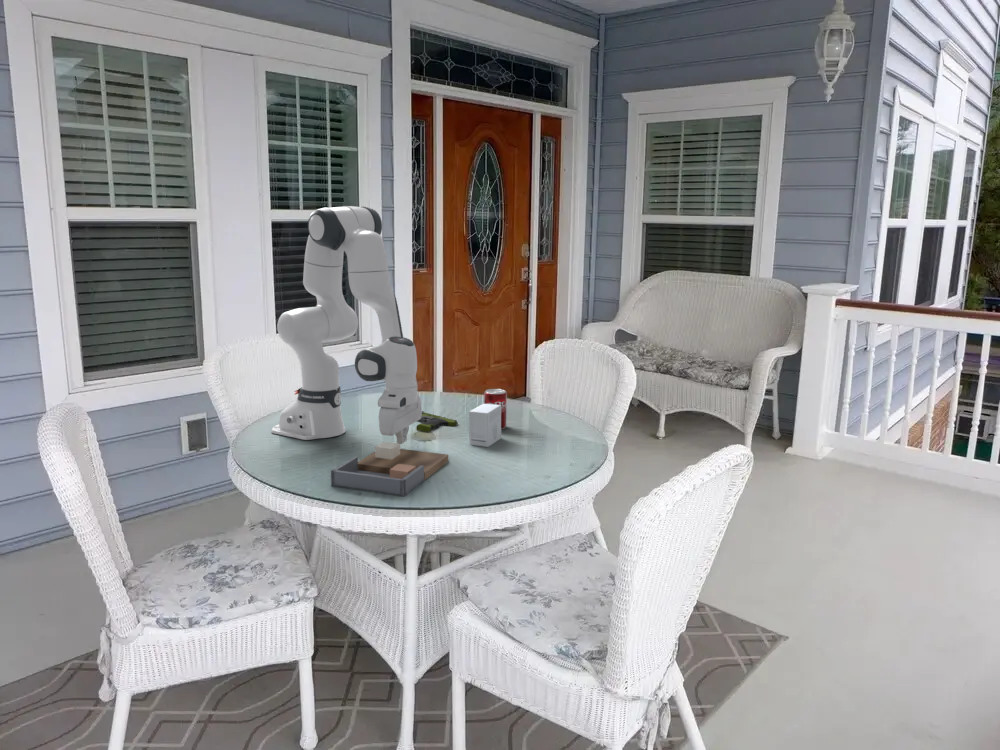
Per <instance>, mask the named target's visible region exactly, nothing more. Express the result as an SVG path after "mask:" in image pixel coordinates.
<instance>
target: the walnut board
mask: <svg viewBox="0 0 1000 750" xmlns="http://www.w3.org/2000/svg"><path fill="white" fill-rule="evenodd" d="M447 463H449V454H446V453H439V452H438V453H437V452H431V451H430V452H429V451H423V450H422V451H421V450H415V449H413V450H412V449H405V448H400V455H398V456H397V457H395V458H394V459H384V458H376V457H375V451H373V452H371V454H369V455H367V456H365V457H363V458H362V459H360V460H358V470H363V471H370V472H377V473H385V474H390V469H391V468H393V467H394V466H396V465H397V464H404V465H412V466H416V468H418V467H419V466H420V465H421V466H424V481H426V480H427V479H428V478H430V477H431V476H432V475H434V473H436V472H437V471H438V470H440V469H441V468H442V467H443V466H445V465H446V464H447Z"/></svg>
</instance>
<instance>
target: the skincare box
mask: <svg viewBox="0 0 1000 750" xmlns="http://www.w3.org/2000/svg"><path fill="white" fill-rule="evenodd" d="M468 415H469V416H468V419H469V426H468V427H469V428H468V429H469V430H468V431H469V432H468V433H469V436H468V437H469V445H470V446H478V447H484V448H485V447H486V448H489V447H490V446H492V445H493V444H495V443H496V442H498V441H499V440H500V439H501V438H502V430H501V405H493V404H484V403H482V404H480V405H479V406H477V407H475V408H473V409H471V410H469V412H468Z"/></svg>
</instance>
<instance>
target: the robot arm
mask: <svg viewBox="0 0 1000 750" xmlns="http://www.w3.org/2000/svg"><path fill="white" fill-rule="evenodd" d="M307 230H308V234H309V235H308V237H307V241H306V247H305V252H304V260H303V261H304V263H303V276H302V277H303V279H302V285H303V286H304V289H305V290H306V291H307V292H308V293H309V294H311V295H312V296H315V298H316V305H315V306H311V307H298V308H294V309H290V310H288V311H285V312H282V313H281V315H280V316H279V317H278V321H277V324H276V326H277V333H278V336H279V338H280V339H281V340H282V342H283V343H285V344H286V345H287V346H289V347H291V349H292V350H293V351H294V353H295V354H296V356H297V359H298V361H299V366H300V373H301V387H299V388H298V389H296V390H294V392H295V393H294V395H297V398H296V399H295V400H294V401H293V402H292V403H290V404H289V405H288V406H286V408H284V409H283V410H282V411H281V412H280V414H279V418H278V419H279V421H278V424H276V425H274V426H273V427H272V429H271V433H272V434H275V435H280V436H285V437H290V438H293V439H294V438H295V439H298V440H304V441H310V440H316V439H326V438H334V437H337V436H341V435H343V434H344V433H346V427H345V424H344V420H343V415H342V410H341V404H342V403H341V402H342V391H341V389H342V388H341V386H340V371H339V364H338V361H337V359H336V358H334V357H333V356H331V355H329V354H327V353H326V352H325V350H324V347H323V346H324V345H323V343H330V342H337V341H342V340H346V339H348V338H350V337H352V336H354V335H355V334H356V332H357V330H358V326H359V318H358V315H357V313H356V312H355V310H354V309H353V308H352V307H351V306H350V305H348V303H347V302H346V299H345V296H344V294H343V267H344V266H343V265H344V256H345V255H346V259H347V273H348V284H349V289H350V292H351V294H352V295H353V297H354V298H356V299H357V300H358V301H359V302H360V303H362V304H365V305H368V306H369V307H371V308H372V309H373V310H374V311H375V312H376V314H377V319H378V323H379V327H380V328H379V329H380V335H381V343H379V344H376V345H373V346H370V347H367V348H364V349H362V350H360V351H359V352H358V353H357V354H356V356H355V359H354V369H355V371H356V374H357V375H358V377H359V378H360V379H362V380H363V381H364V382H378V381H383V382H385V383H384V384H385V387H384V388H385V389H384V391H383V392H382V395H380V397H379V398H378V400H377V407H379V410H378V427H379V432H380V434H381V435H383V436H389V437H393V436H394V435H395V438H396V443H398V444H400V445H402V444H404V443H405V442H407V440H408V434H409V431H410V426H411V425H413V424H415V423H416V422H418V420H420V419H421V416H422V411H423V409H422V400H421V396H419V392H418V381H417V375H416V374H417V371H418V358H417V355H418V354H417V349H416V345H415V343H414V341H413V340H411V339H409V338H407V337H405V336H404V335H403V328H402V322H401V316H400V311H399V304H398V301H397V298H396V294H395V292H394V291H393V289H392V286H391V281H390V276H389V264H388V256H387V252H386V246H385V244H384V238H383V237H382V236H381V233H382V231H383V223H382V219H381V216H380V214H379V213H378V212H377V211H376V209H373V208H371V207H367V206H355V205H350V206H349V205H342V206H335V207H334V206H333V207H322V208H318V209H315V210H313V211H312V212H311V213H310V215H309V218H308V220H307ZM344 253H345V255H344Z"/></svg>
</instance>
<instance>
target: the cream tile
mask: <svg viewBox="0 0 1000 750" xmlns="http://www.w3.org/2000/svg"><path fill="white" fill-rule="evenodd" d="M400 449H401V444H398V443H397V442H396V443H395V442H390V441H389V442H388V441H382V442H381V443H379V444H378V445H376V446H374V450H375V451H374V452H375V457H376V458H384V459H394V458H395V457H397V456H398V455H400Z"/></svg>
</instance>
